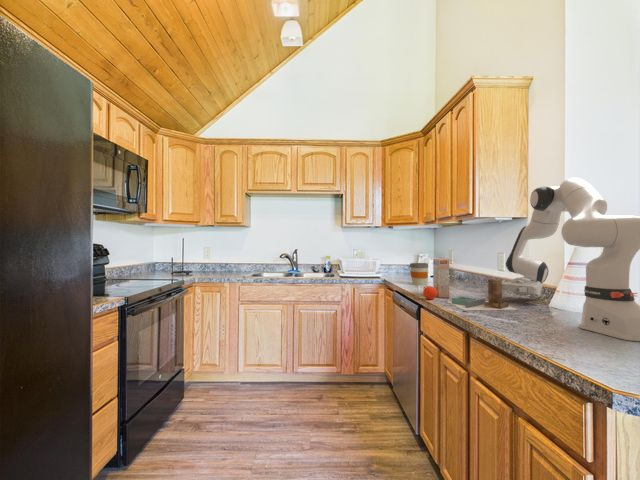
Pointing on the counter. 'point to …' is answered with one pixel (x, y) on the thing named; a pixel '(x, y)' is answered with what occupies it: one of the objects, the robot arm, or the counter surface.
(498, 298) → the stop bar
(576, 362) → the counter surface
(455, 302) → the index socket
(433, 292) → the clementine
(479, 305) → the jamb board
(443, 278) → the cracker box
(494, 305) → the keeper
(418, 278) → the reusable coffee cup
